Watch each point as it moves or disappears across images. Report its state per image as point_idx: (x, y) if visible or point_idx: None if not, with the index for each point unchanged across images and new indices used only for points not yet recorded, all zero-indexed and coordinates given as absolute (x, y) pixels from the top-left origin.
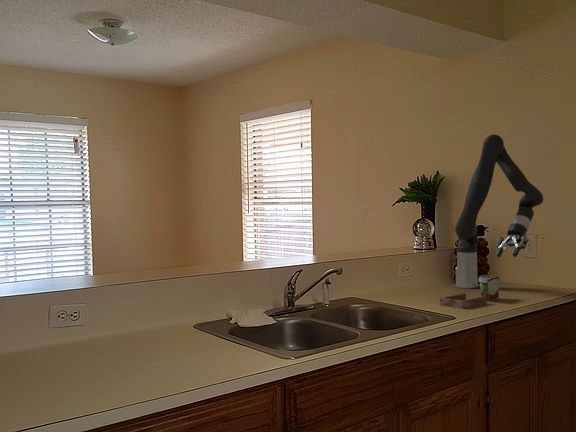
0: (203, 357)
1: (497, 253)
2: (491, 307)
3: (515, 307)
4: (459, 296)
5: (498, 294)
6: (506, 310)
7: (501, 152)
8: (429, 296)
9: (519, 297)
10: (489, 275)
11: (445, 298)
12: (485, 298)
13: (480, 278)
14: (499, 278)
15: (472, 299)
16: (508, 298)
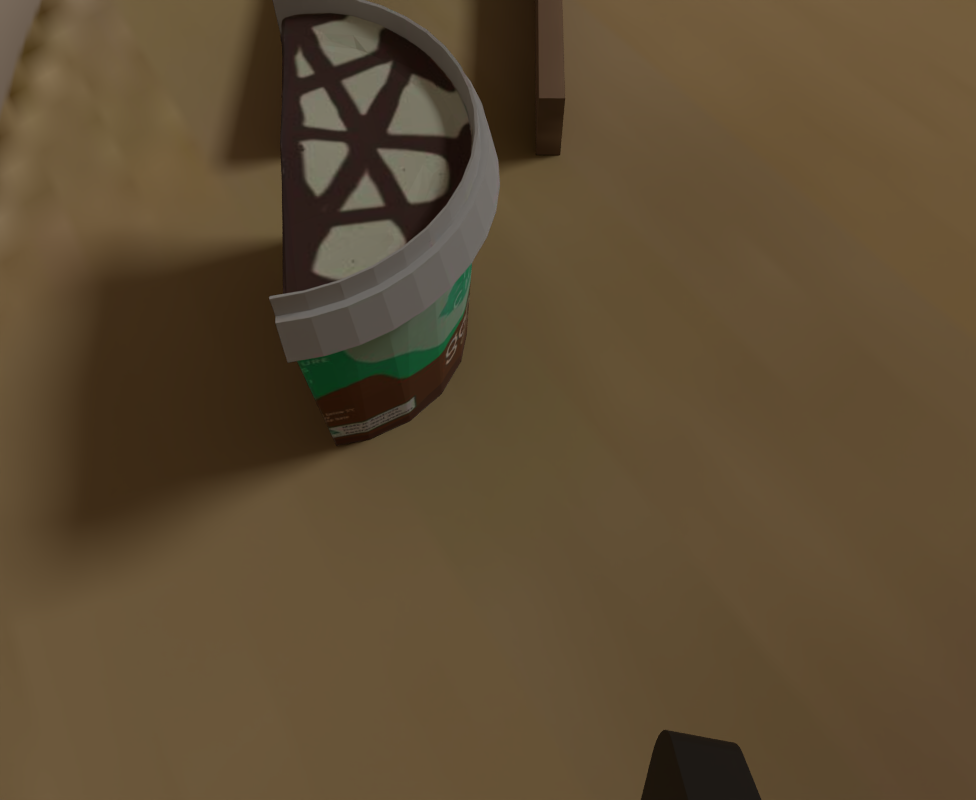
0: None
1: (700, 758)
2: (186, 58)
3: (6, 164)
4: (537, 36)
5: (329, 421)
6: (37, 39)
7: None
8: (930, 109)
9: (150, 695)
10: (418, 239)
11: None
12: None
13: (401, 30)
14: (284, 341)
15: None
16: (243, 526)
